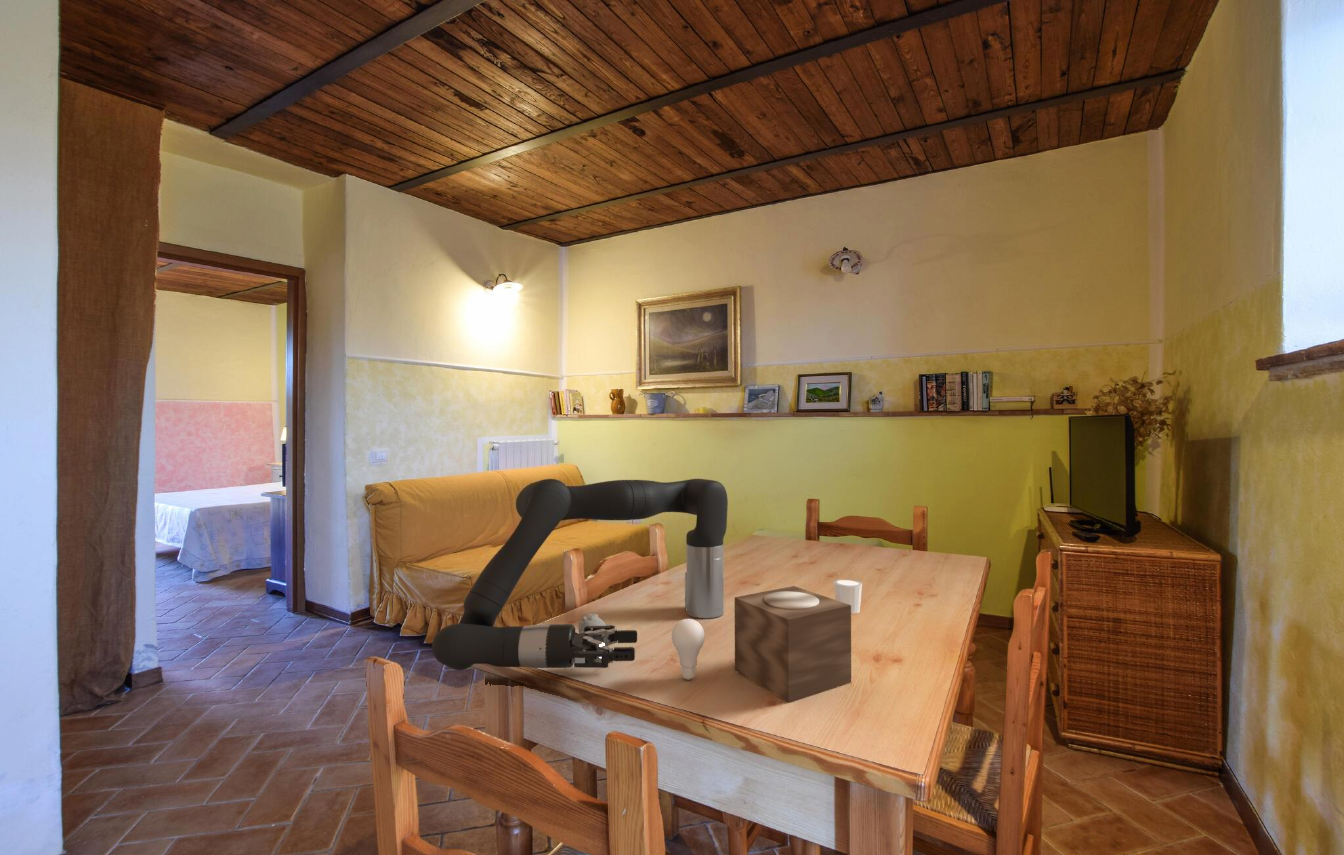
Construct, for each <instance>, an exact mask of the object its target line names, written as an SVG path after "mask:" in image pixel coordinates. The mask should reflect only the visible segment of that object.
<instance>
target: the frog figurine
mask: <svg viewBox="0 0 1344 855" xmlns="http://www.w3.org/2000/svg"><path fill="white" fill-rule="evenodd" d="M585 626H607V625H606V623H605V621H604V620H603V619H602V618H600V617H599V614H597V613H588V614H586V615H585V616H584V615H583V616H582V618H581V619H580V621H579V623H578V625H577V630H578V634H579V633H584V627H585Z"/></svg>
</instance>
